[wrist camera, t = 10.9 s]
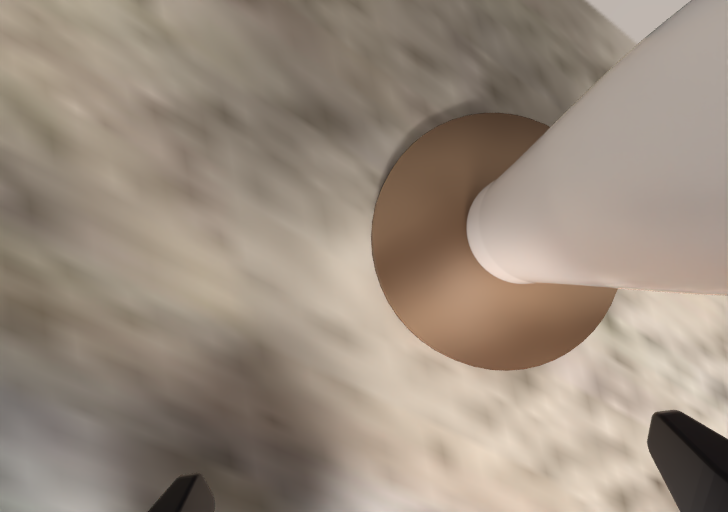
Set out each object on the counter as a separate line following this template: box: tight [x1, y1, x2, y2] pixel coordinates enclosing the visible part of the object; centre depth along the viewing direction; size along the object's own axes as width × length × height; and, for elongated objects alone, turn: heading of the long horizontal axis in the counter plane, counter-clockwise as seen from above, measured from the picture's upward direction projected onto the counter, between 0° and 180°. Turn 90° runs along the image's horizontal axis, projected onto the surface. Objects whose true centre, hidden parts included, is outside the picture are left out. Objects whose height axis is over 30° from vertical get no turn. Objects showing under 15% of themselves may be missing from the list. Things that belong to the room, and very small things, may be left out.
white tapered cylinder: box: [466, 0, 728, 295], centre depth 14 cm, size 7×7×15 cm
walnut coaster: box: [371, 113, 618, 371], centre depth 22 cm, size 13×13×1 cm
